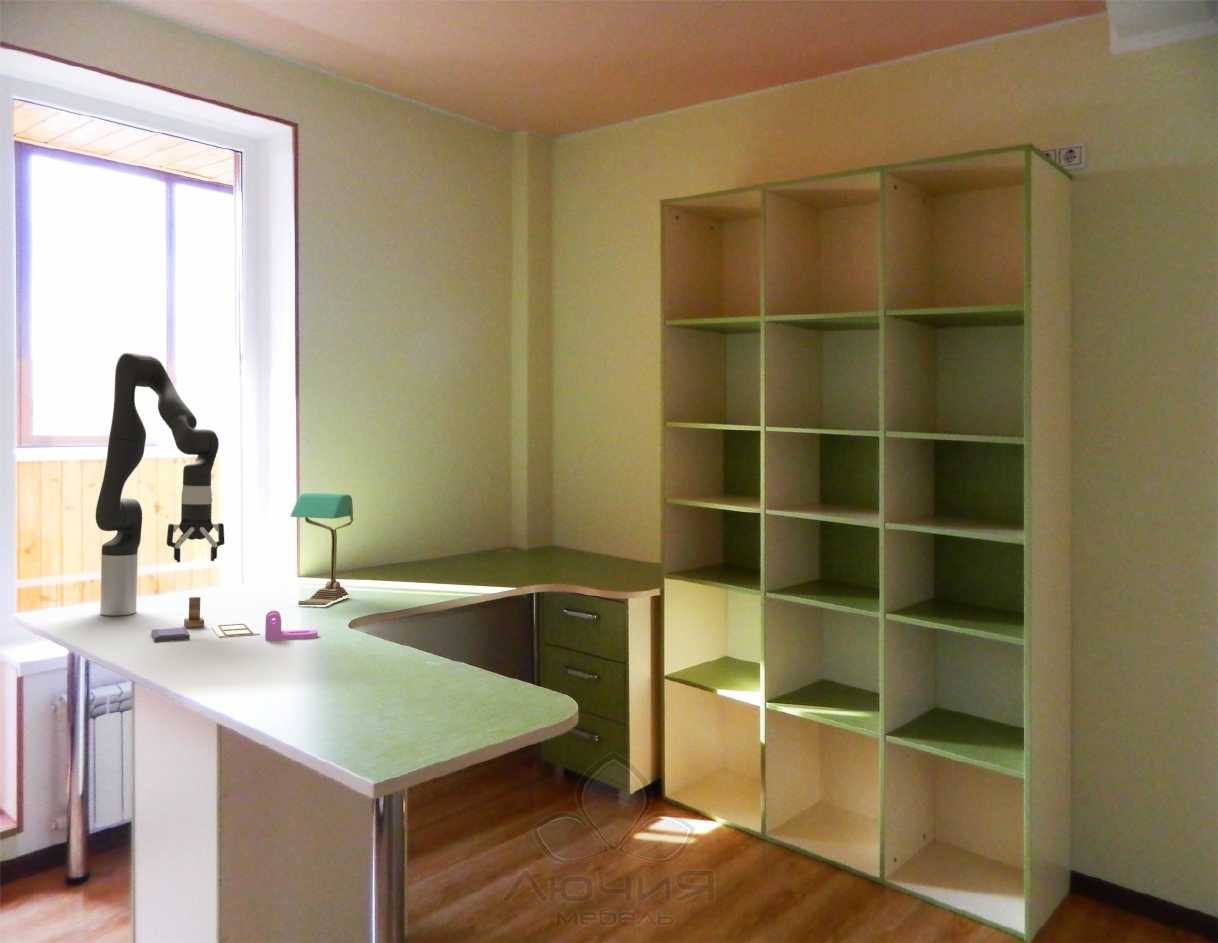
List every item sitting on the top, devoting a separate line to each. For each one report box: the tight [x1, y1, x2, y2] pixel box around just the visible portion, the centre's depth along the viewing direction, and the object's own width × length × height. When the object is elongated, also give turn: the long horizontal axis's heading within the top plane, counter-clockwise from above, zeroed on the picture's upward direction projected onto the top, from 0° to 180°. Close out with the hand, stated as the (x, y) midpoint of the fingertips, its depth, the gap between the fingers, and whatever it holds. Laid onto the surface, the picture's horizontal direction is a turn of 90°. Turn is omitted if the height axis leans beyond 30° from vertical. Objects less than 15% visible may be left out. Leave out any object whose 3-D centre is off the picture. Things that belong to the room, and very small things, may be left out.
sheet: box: [210, 623, 260, 638], centre depth 247 cm, size 14×10×1 cm
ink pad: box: [151, 627, 191, 643], centre depth 237 cm, size 10×8×1 cm
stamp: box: [183, 596, 205, 630], centre depth 250 cm, size 4×4×8 cm
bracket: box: [264, 609, 319, 641], centre depth 241 cm, size 13×6×7 cm, turn 111°
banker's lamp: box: [289, 492, 354, 605], centre depth 293 cm, size 16×21×35 cm
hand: (195, 561), depth 250 cm, fingers open, 8 cm apart
